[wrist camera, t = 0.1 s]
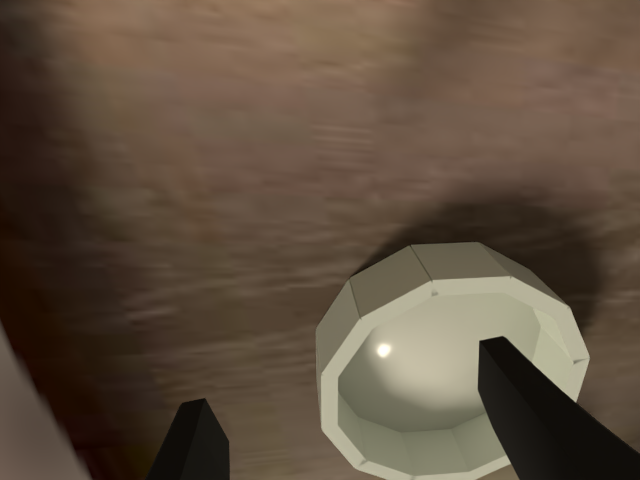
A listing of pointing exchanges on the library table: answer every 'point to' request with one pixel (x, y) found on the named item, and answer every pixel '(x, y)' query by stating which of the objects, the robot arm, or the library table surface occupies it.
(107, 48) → the library table surface
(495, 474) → the marshmallow
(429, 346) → the bowl
